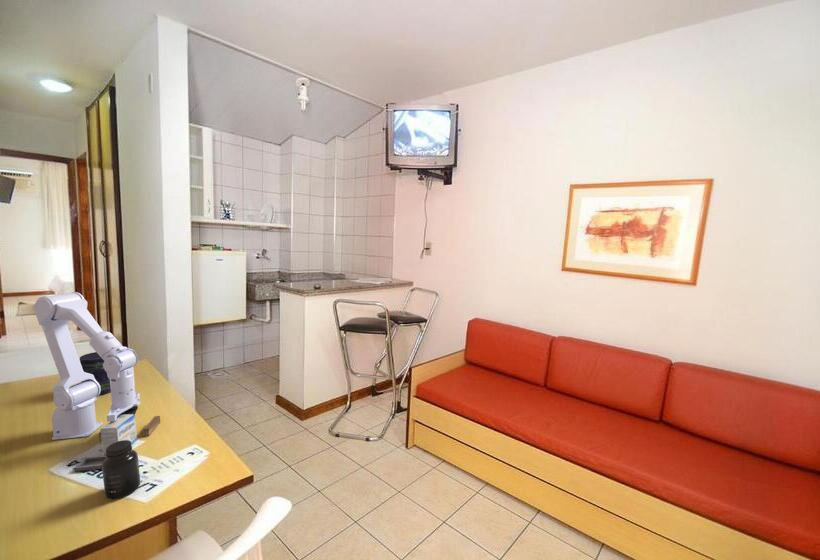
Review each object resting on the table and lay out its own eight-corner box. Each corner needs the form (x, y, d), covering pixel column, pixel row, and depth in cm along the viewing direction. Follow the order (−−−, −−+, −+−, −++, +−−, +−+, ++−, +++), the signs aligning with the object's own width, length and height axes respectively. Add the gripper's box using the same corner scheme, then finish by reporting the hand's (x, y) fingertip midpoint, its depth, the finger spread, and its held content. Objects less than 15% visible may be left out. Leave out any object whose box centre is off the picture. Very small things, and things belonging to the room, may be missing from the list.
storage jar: (119, 390, 140) (117, 354, 138) (87, 399, 132) (84, 361, 130) (110, 384, 145) (107, 349, 143) (78, 393, 137) (75, 356, 135)
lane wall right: (143, 436, 110) (143, 429, 109) (155, 423, 117) (154, 416, 117) (149, 436, 110) (148, 428, 110) (160, 422, 118) (160, 415, 117)
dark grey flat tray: (74, 472, 93) (74, 468, 93) (85, 461, 97) (85, 457, 97) (114, 467, 95) (114, 463, 95) (123, 457, 99) (123, 453, 99)
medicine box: (119, 456, 100) (117, 427, 99) (102, 457, 99) (99, 428, 98) (137, 440, 108) (135, 413, 106) (121, 440, 107) (119, 414, 106)
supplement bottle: (118, 481, 90) (114, 437, 89) (146, 480, 91) (143, 436, 89) (97, 501, 83) (92, 454, 82) (127, 500, 84) (124, 453, 82)
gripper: (125, 399, 101) (129, 443, 103) (149, 379, 115) (151, 418, 117) (96, 401, 100) (100, 446, 101) (124, 380, 114) (127, 420, 115)
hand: (126, 431), depth 109 cm, fingers closed
